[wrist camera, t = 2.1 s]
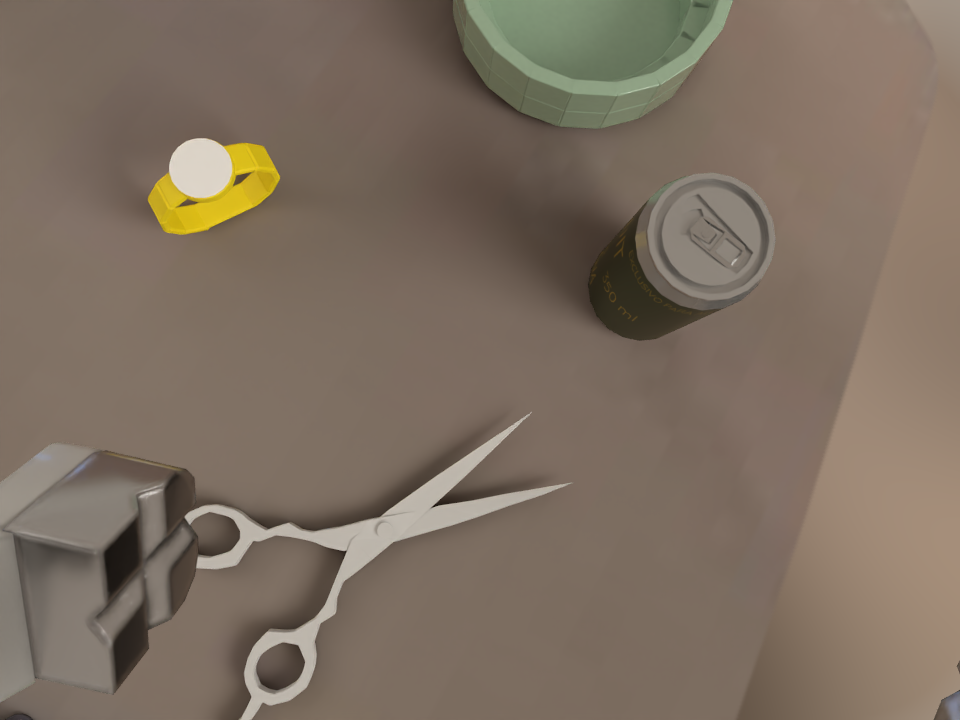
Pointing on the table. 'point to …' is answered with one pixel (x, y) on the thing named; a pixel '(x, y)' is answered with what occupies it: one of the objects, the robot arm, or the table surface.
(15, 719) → the notebook
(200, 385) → the table surface
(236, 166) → the watch
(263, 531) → the scissors
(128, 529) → the robot arm
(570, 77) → the bowl
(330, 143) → the table surface
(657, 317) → the beer can
